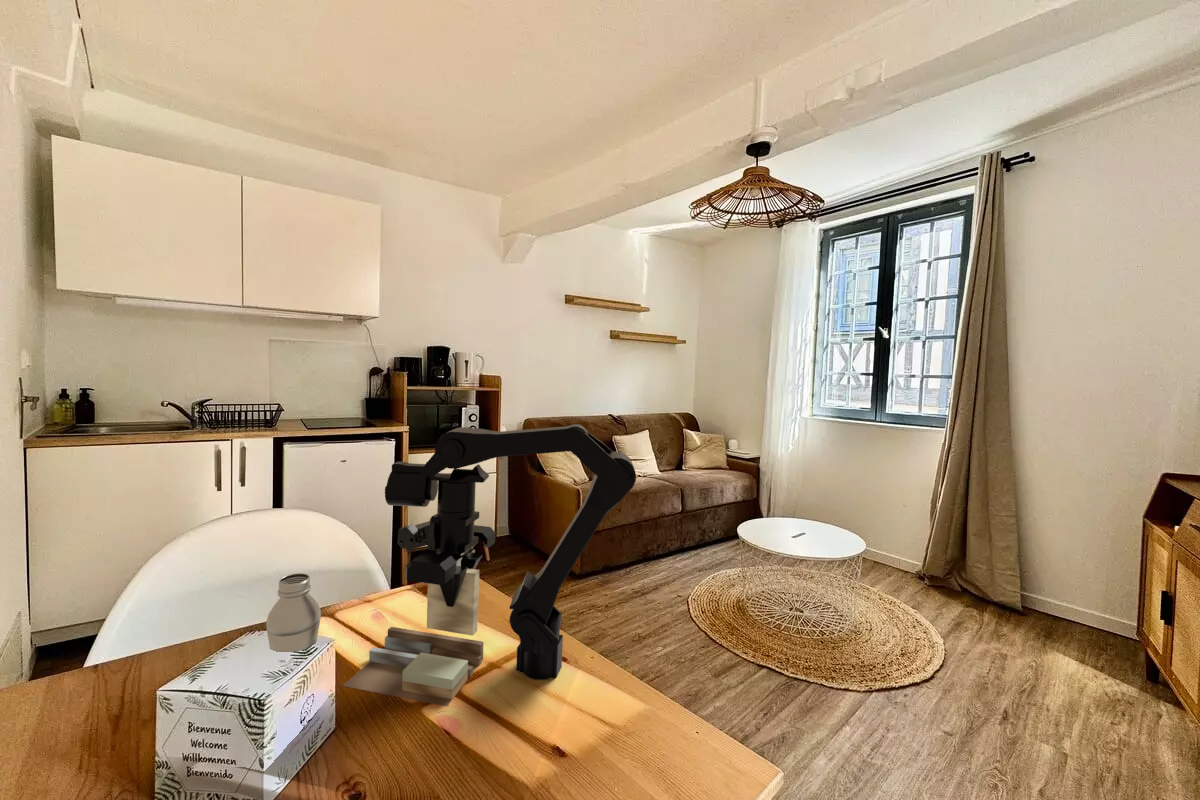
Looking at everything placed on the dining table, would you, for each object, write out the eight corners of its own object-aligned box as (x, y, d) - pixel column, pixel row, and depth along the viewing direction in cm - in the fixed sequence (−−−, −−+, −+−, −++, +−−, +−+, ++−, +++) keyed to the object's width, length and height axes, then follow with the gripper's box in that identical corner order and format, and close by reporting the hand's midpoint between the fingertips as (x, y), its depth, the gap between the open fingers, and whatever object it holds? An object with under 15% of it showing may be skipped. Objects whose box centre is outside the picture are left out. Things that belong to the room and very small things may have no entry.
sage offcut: (467, 669, 78) (468, 660, 78) (452, 689, 73) (452, 679, 73) (420, 661, 80) (421, 652, 79) (402, 680, 75) (402, 670, 75)
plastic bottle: (261, 745, 64) (262, 593, 63) (268, 712, 70) (268, 572, 69) (319, 731, 67) (321, 585, 66) (321, 700, 73) (322, 566, 72)
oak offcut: (467, 679, 78) (467, 669, 78) (451, 699, 73) (452, 689, 73) (420, 670, 80) (420, 661, 80) (402, 690, 75) (402, 680, 75)
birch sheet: (477, 630, 81) (479, 569, 80) (472, 635, 79) (475, 573, 79) (431, 623, 83) (433, 563, 82) (426, 628, 81) (428, 567, 80)
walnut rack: (483, 665, 84) (484, 641, 83) (448, 712, 72) (448, 685, 72) (389, 648, 87) (390, 626, 87) (340, 692, 75) (341, 666, 75)
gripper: (439, 489, 90) (437, 574, 91) (373, 519, 72) (371, 624, 73) (497, 495, 88) (494, 582, 89) (444, 527, 70) (441, 636, 71)
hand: (453, 603), depth 81 cm, fingers closed on birch sheet, 2 cm apart
